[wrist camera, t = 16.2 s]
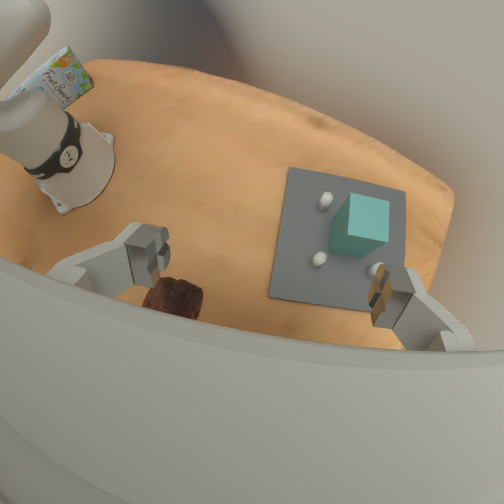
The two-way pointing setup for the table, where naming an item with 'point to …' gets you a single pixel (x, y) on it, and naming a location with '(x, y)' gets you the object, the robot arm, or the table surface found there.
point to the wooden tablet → (175, 298)
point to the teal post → (359, 226)
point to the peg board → (317, 242)
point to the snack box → (59, 79)
